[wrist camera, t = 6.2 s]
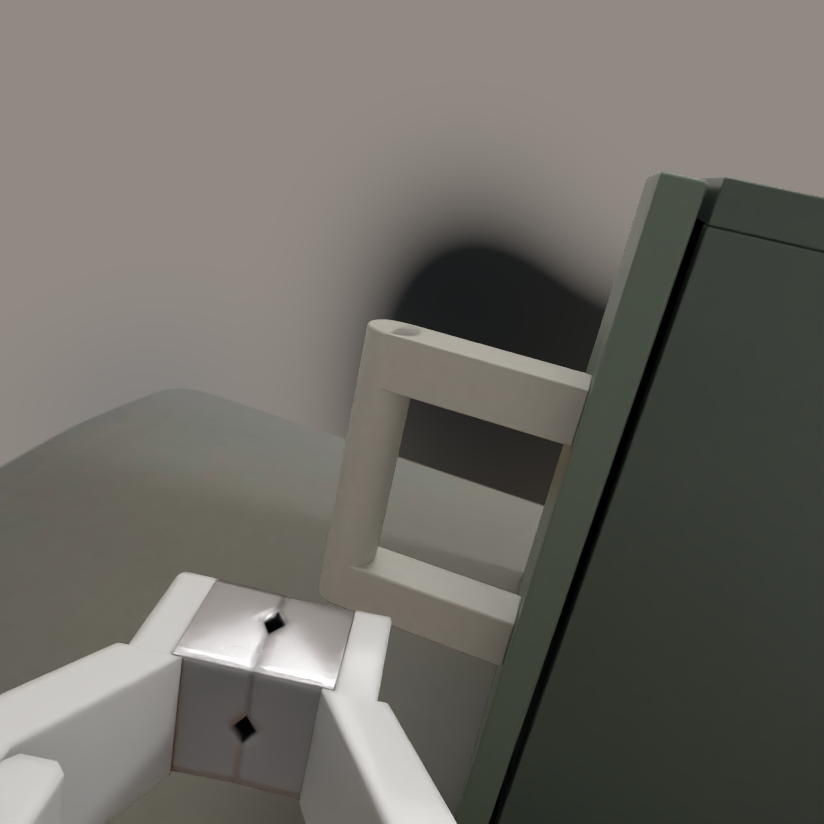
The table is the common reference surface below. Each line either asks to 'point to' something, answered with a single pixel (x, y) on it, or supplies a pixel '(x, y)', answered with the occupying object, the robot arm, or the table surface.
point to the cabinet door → (518, 409)
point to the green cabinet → (702, 556)
